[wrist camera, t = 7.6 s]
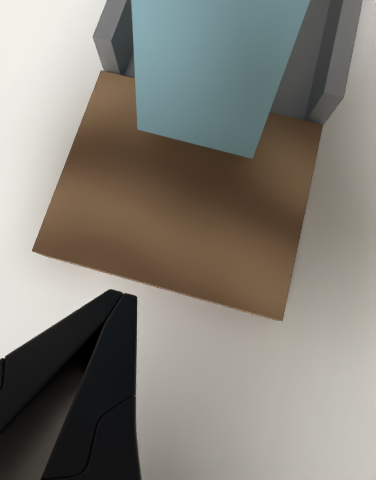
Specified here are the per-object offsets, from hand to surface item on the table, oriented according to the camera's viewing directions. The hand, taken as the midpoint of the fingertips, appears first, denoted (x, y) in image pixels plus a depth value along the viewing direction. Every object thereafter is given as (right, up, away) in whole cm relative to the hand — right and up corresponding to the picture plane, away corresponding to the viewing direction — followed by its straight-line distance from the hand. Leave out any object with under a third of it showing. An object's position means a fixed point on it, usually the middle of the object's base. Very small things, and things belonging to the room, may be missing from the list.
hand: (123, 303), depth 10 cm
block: (+3, +10, +9) cm, 13 cm away
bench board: (+2, +4, +9) cm, 10 cm away
